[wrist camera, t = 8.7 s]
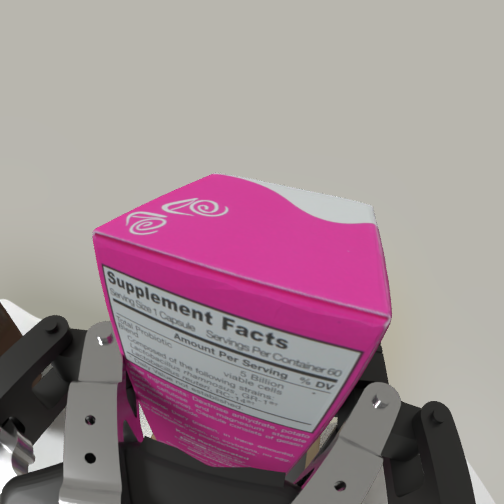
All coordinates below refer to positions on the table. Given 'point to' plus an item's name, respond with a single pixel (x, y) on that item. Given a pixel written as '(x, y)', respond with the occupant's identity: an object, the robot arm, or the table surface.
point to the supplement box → (244, 314)
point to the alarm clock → (10, 335)
